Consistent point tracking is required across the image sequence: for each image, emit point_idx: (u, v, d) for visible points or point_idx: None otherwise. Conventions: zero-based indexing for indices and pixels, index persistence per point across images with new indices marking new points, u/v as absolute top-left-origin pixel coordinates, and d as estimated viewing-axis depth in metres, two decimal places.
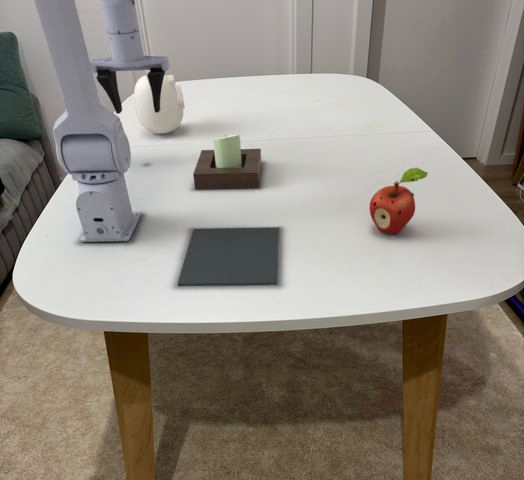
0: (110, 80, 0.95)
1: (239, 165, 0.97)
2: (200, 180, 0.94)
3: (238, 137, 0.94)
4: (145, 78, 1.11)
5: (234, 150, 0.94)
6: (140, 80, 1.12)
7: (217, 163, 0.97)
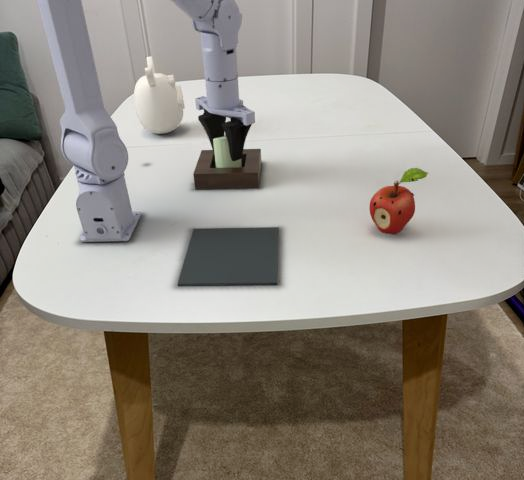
0: (209, 122, 0.94)
1: (239, 165, 0.97)
2: (200, 180, 0.94)
3: None
4: (145, 78, 1.11)
5: None
6: (140, 80, 1.12)
7: (217, 163, 0.97)
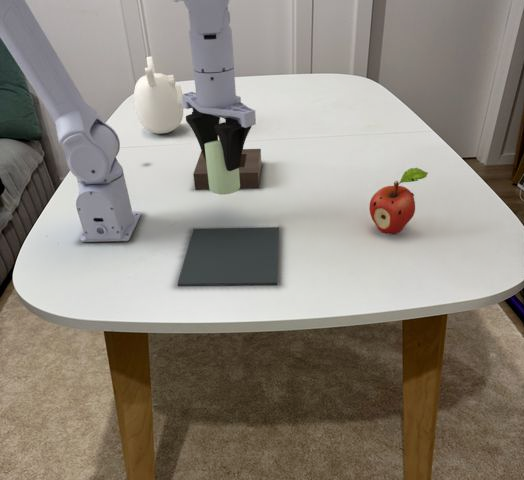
0: (199, 123, 0.76)
1: (236, 175, 0.80)
2: (200, 180, 0.94)
3: None
4: (145, 78, 1.11)
5: None
6: (140, 80, 1.12)
7: (209, 173, 0.79)
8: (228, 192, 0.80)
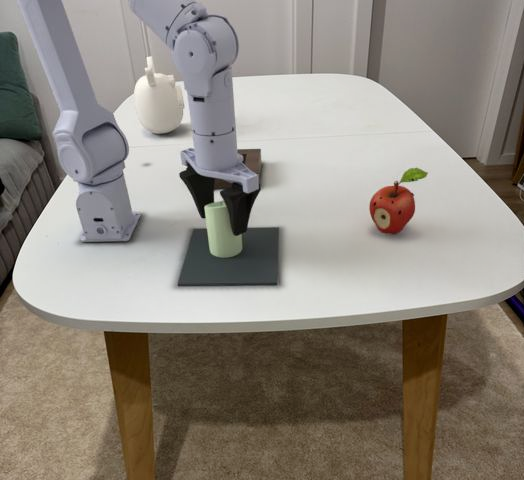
0: (193, 180, 0.72)
1: (238, 238, 0.75)
2: None
3: None
4: (145, 78, 1.11)
5: None
6: (140, 80, 1.12)
7: (210, 236, 0.75)
8: (229, 255, 0.76)
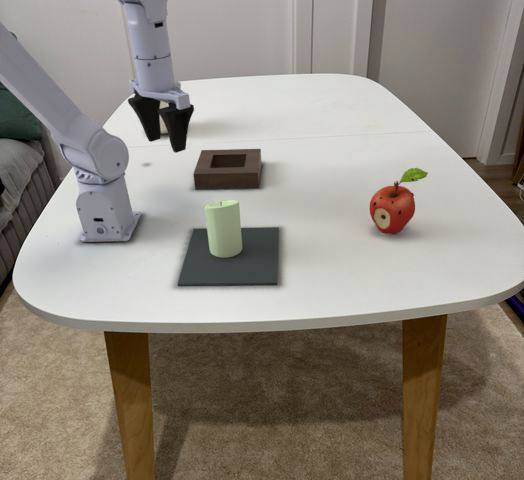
0: (139, 105, 0.84)
1: (238, 238, 0.75)
2: (200, 180, 0.94)
3: (237, 205, 0.72)
4: None
5: (231, 222, 0.72)
6: None
7: (210, 236, 0.75)
8: (229, 255, 0.76)
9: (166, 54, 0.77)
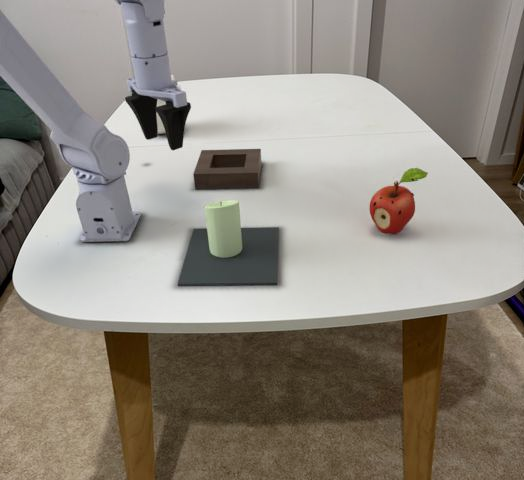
0: (136, 103, 0.85)
1: (238, 238, 0.75)
2: (200, 180, 0.94)
3: (237, 205, 0.72)
4: None
5: (231, 222, 0.72)
6: None
7: (210, 236, 0.75)
8: (229, 255, 0.76)
9: (164, 52, 0.78)
